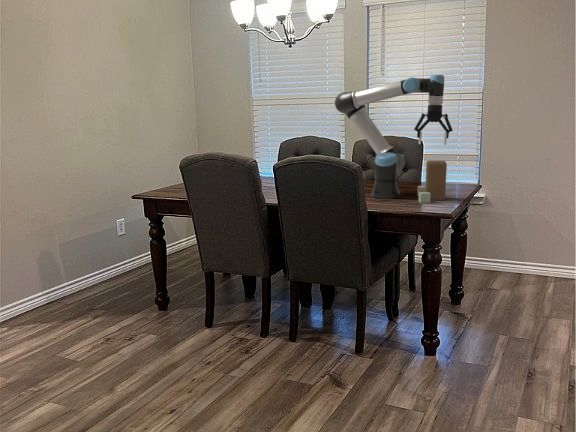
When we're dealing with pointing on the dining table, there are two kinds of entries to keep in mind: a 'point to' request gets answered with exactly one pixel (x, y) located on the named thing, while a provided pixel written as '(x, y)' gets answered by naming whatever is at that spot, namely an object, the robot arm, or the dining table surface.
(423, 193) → the sage cube
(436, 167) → the wooden block
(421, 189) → the cream cube
